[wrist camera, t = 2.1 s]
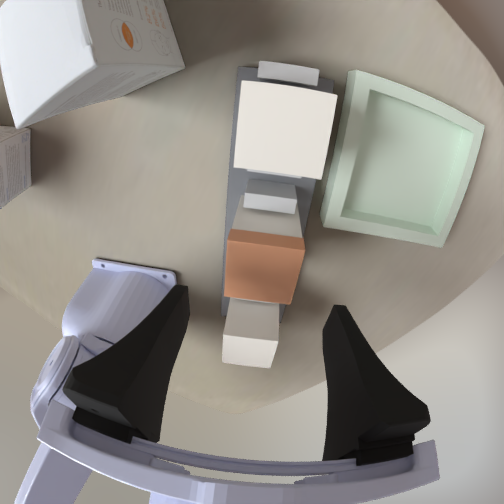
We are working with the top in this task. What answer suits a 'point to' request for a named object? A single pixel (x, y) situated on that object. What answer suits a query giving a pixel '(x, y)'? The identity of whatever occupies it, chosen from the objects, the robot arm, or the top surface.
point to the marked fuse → (263, 255)
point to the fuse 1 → (251, 333)
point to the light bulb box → (14, 162)
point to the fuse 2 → (283, 129)
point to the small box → (81, 53)
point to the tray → (398, 162)
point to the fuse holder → (263, 182)
